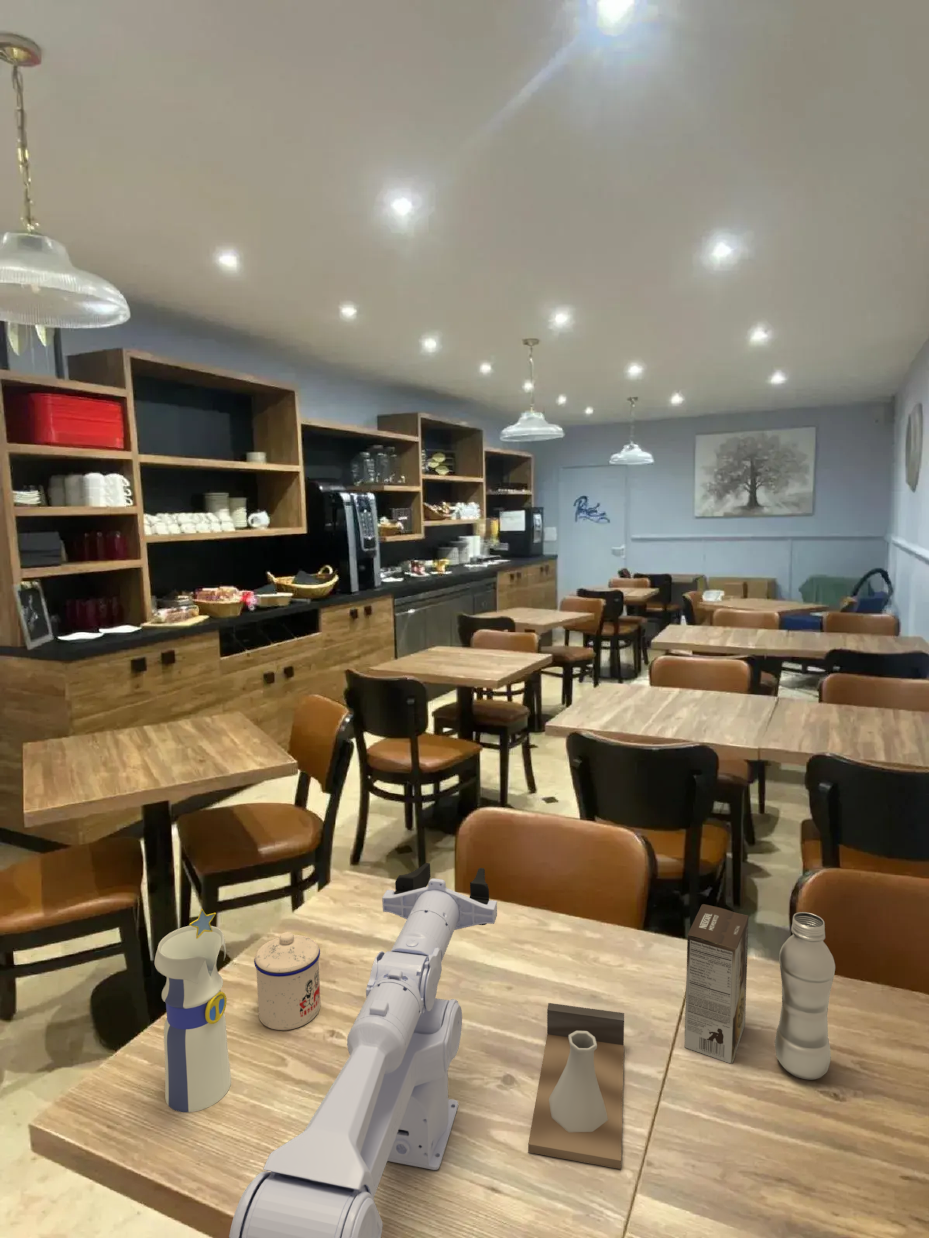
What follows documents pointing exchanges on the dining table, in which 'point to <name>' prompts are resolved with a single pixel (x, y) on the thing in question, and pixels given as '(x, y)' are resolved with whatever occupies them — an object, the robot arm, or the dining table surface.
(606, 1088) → the sliding board
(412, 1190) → the dining table surface
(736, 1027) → the coffee box
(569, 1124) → the flask
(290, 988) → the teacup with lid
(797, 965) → the plastic bottle
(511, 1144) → the dining table surface
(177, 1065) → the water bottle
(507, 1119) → the dining table surface
